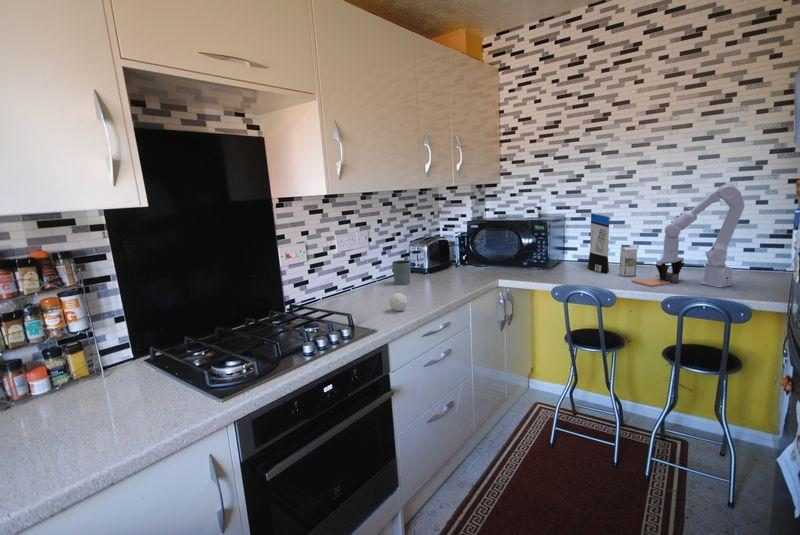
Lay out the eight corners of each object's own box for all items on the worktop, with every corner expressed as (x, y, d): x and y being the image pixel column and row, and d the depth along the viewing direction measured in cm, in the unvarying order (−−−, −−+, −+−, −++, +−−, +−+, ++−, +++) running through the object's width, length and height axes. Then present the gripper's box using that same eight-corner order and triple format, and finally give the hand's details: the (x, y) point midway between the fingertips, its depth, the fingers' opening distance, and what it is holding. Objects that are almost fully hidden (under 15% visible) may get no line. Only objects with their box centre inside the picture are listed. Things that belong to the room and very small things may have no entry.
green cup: (400, 280, 233) (399, 259, 231) (415, 282, 227) (414, 260, 225) (389, 284, 225) (388, 262, 223) (405, 286, 219) (403, 264, 217)
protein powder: (597, 274, 219) (599, 217, 213) (581, 265, 243) (582, 213, 237) (616, 273, 218) (619, 216, 212) (598, 264, 242) (599, 212, 236)
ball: (398, 318, 177) (390, 307, 172) (391, 307, 183) (383, 296, 178) (413, 307, 177) (405, 296, 172) (405, 297, 184) (397, 286, 178)
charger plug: (680, 283, 193) (680, 274, 192) (674, 284, 192) (674, 275, 191) (660, 278, 203) (660, 270, 202) (654, 279, 202) (655, 271, 201)
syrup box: (630, 273, 215) (632, 246, 213) (636, 276, 210) (637, 248, 207) (619, 274, 216) (620, 246, 213) (624, 276, 210) (625, 248, 207)
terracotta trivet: (669, 284, 192) (670, 281, 192) (651, 287, 189) (651, 285, 189) (649, 279, 203) (649, 277, 202) (631, 282, 199) (631, 280, 199)
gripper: (674, 247, 199) (672, 274, 202) (651, 250, 195) (649, 278, 198) (688, 249, 193) (686, 277, 195) (664, 252, 189) (663, 281, 191)
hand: (668, 278), depth 196 cm, fingers open, 7 cm apart
